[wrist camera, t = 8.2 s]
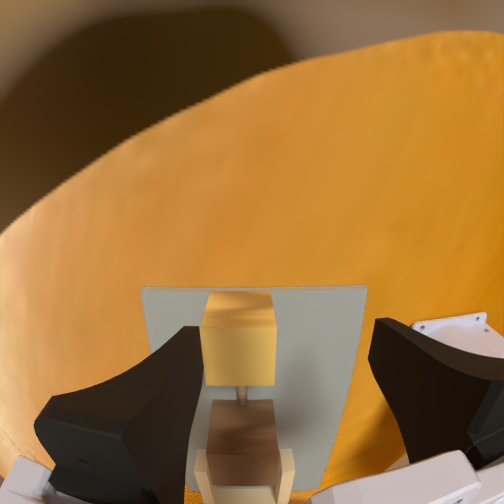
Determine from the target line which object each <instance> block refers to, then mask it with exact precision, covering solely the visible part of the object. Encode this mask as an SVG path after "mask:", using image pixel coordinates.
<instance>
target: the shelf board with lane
mask: <svg viewBox="0 0 504 504" xmlns="http://www.w3.org/2000/svg"><path fill="white" fill-rule="evenodd" d="M210 291H270V292H271V298H272V303H273V309H274V315H275V320H276V326H277V339H276V361H275V381H274V385H269V386H247V398H248V400H262V399H273V404H274V414H275V423H276V433H277V442H278V452H279V457H278V465H277V474H276V482H275V486H213V485H212V481H211V477H210V472H209V467H208V463H207V458H206V448H207V440H208V432H209V424H210V416H211V408H212V400H213V399H221V400H238V398H237V386H213V385H206V382H205V373H204V372H203V381H202V388H201V392H200V396H199V400H198V404H197V408H196V412H195V416H194V420H193V424H192V428H191V433H190V438H189V446H188V454H187V464H186V476H185V479H186V482H187V484H188V487H189V490H190V491H196V492H200V493H201V496H202V499H203V502H204V504H288V502H289V497H290V493H291V492H294V491H304V490H313V489H318V488H319V486H320V483H321V480H322V477H323V475H324V472H325V469H326V466H327V463H328V460H329V457H330V454H331V451H332V448H333V444H334V441H335V438H336V435H337V431H338V428H339V424H340V421H341V417H342V413H343V410H344V406H345V402H346V398H347V394H348V390H349V386H350V382H351V377H352V373H353V368H354V364H355V359H356V354H357V349H358V344H359V339H360V334H361V328H362V323H363V317H364V311H365V304H366V298H367V291H368V289H367V288H366V287H365V285H346V286H314V287H259V288H186V287H143V289H142V290H141V298H142V304H143V311H144V317H145V323H146V328H147V334H148V339H149V345H150V350H151V354H152V353H154V352H155V351H156V350H157V349H159V348H160V347H161V346H162V345H163V344H164V343H166V342H167V341H168V340H169V339H170V338H171V337H172V336H173V335H175V334H176V333H177V332H178V331H179V330H180V329H181V328H182V327H183V326H199V329H200V326H201V322H202V319H203V315H204V311H205V308H206V304H207V301H208V297H209V294H210ZM200 338H201V335H200ZM201 346H202V345H201Z"/></svg>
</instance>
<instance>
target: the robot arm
mask: <svg viewBox="0 0 504 504" xmlns="http://www.w3.org/2000/svg"><path fill="white" fill-rule="evenodd" d="M486 318H487V314H486V313H485V312H479V313H474V314H468V315H462V316H455V317H449V318H442V319H435V320H428V321H420V322H415V323H414V324H413V325H412V327H411V328H410V327H408V326H406V325H404V324H402V323H400V322H398V321H396V320H394V319H391V318H378V319H375V325H374V330H373V335H372V341H371V346H370V350H369V355H368V361H369V364H370V367H371V370H372V372H373V375H374V378H375V380H376V382H377V383H378V385H379V387H380V389H381V391H382V393H383V395H384V397H385V399H386V400H387V402H388V404H389V406H390V408H391V410H392V412H393V414H394V416H395V418H396V420H397V423H398V426H399V429H400V431H401V434H402V437H403V441H404V444H405V447H406V451H407V454H408V458H409V463H410V464H409V465H406V466H403V467H399V468H396V469H392V470H389V471H385V472H381V473H377V474H373V475H368V476H364V477H359V478H354V479H351V480H348V481H344V482H341V483H337V484H334V485H331V486H329V487H327V488H325V489H323V490H321V491H319V492H317V493H315V494H313V495H312V496H311V497H310V499H309V500H308V501H307V502H306V503H305V504H504V338H503V337H502V336H501V335H500V334H498V333H497V332H496V331H495V330H494V329H492V328H491V327H490V326H489V325H487V324H486V323H485V321H486ZM421 326H422V328H421V329H420V327H421ZM203 372H204V363H203V355H202V346H201V338H200V329H199V326H183V327H182V328H181V329H180V330H179V331H178V332H177V333H176V334H175V335H173V336H172V337H171V338H170V339H169V340H168V341H167V342H166V343H164V344H163V345H162V346H161V347H160V348H159V349H157V350H156V351H155V352H154V353H152V354H151V355H150V356H148V357H147V358H146V359H144V360H143V361H142V362H140V363H139V364H137V365H136V366H134V367H132V368H131V369H129V370H127V371H126V372H124V373H122V374H120V375H118V376H116V377H113V378H111V379H109V380H107V381H105V382H102V383H100V384H97V385H94V386H92V387H89V388H85V389H82V390H79V391H75V392H70V393H66V394H61V395H56V396H52V397H51V398H50V400H49V401H48V403H47V404H46V405H45V407H44V408H43V410H42V411H41V413H40V414H39V416H38V417H37V418H36V420H35V422H34V429H35V433H36V436H37V437H38V439H39V441H40V443H41V444H42V445H43V447H44V448H45V450H46V451H47V453H48V454H49V455H50V457H51V458H52V460H53V461H54V462H55V464H56V466H55V468H54V470H53V471H52V470H50V469H49V468H48V467H46V466H44V465H42V464H40V463H38V462H35V461H33V460H31V459H28V458H26V457H24V456H21V455H19V457H18V458H17V460H16V462H15V463H14V465H13V467H12V468H11V470H10V472H9V473H8V475H7V477H6V479H5V480H4V482H3V484H2V486H1V488H0V504H184V491H185V476H186V464H187V454H188V446H189V438H190V433H191V428H192V424H193V420H194V416H195V412H196V408H197V404H198V400H199V396H200V392H201V388H202V381H203Z"/></svg>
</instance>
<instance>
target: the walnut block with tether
mask: <svg viewBox="0 0 504 504" xmlns="http://www.w3.org/2000/svg"><path fill="white" fill-rule="evenodd" d="M200 335H201V345H202V355H203V363H204V373H205V382H206V385H213V386H237V398H238V400H221V399H213V400H212V408H211V416H210V424H209V432H208V440H207V448H206V458H207V463H208V467H209V472H210V477H211V481H212V485H213V486H275V482H276V474H277V465H278V457H279V452H278V442H277V433H276V423H275V414H274V404H273V399H262V400H248V398H247V386H269V385H274V381H275V361H276V339H277V326H276V320H275V315H274V309H273V303H272V298H271V292H270V291H210V294H209V297H208V301H207V304H206V308H205V311H204V315H203V319H202V322H201V326H200Z"/></svg>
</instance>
